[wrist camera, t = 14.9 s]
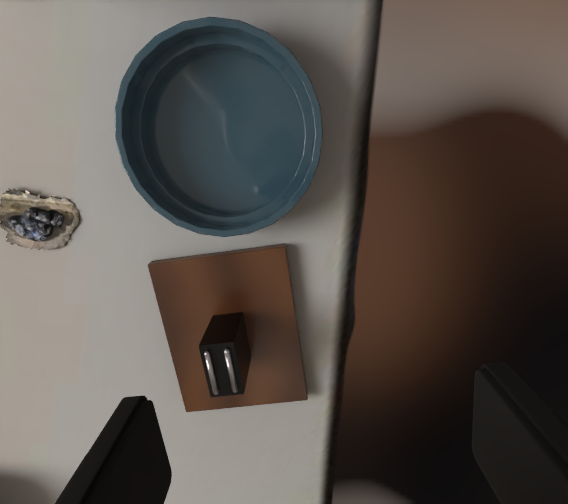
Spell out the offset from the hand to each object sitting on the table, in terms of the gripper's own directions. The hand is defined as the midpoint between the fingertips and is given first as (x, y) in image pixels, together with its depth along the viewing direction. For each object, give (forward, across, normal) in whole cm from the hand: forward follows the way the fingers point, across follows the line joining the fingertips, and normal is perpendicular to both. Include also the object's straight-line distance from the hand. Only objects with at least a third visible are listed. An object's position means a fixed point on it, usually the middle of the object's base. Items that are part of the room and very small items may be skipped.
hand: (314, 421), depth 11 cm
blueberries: (+28, +26, -3) cm, 38 cm away
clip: (+26, +8, +12) cm, 29 cm away
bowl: (+27, +6, -9) cm, 29 cm away
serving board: (+27, +8, +12) cm, 30 cm away
